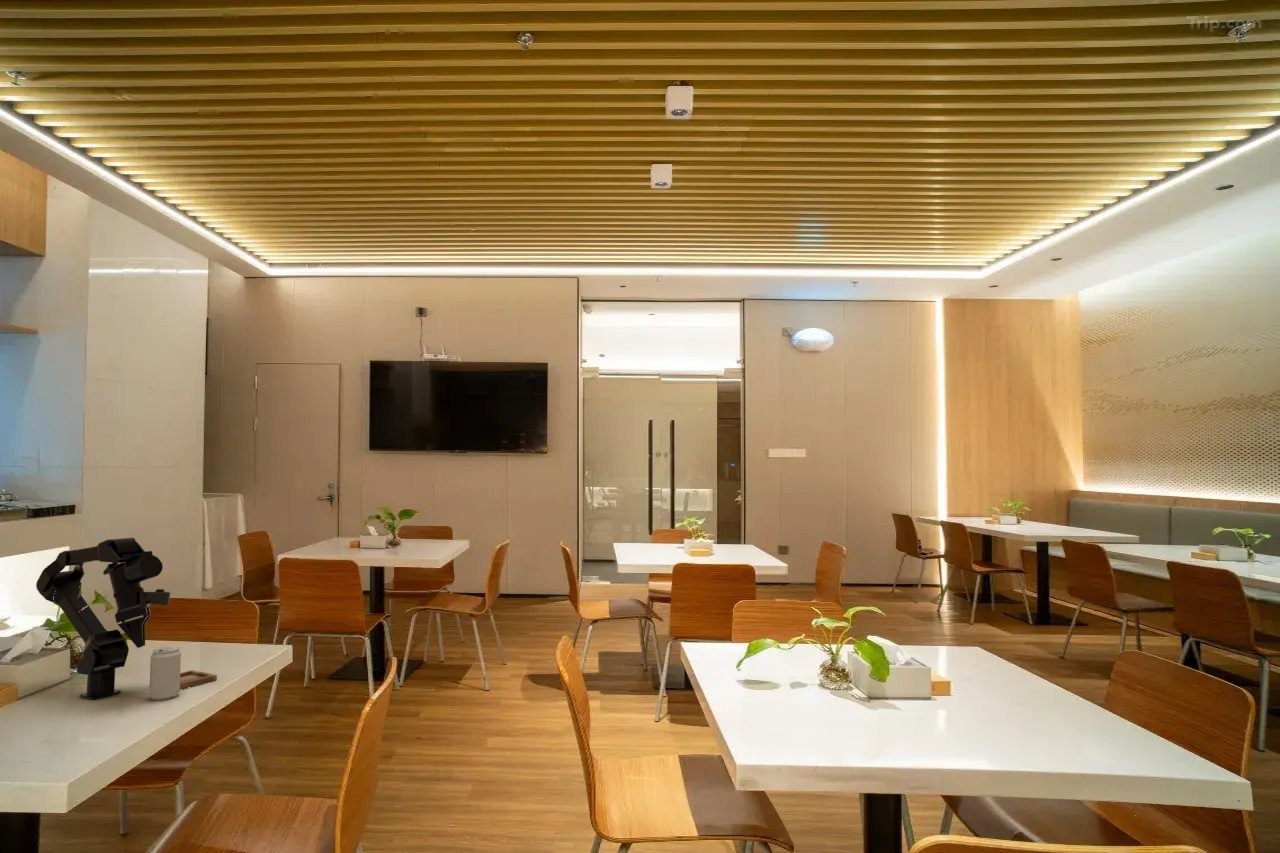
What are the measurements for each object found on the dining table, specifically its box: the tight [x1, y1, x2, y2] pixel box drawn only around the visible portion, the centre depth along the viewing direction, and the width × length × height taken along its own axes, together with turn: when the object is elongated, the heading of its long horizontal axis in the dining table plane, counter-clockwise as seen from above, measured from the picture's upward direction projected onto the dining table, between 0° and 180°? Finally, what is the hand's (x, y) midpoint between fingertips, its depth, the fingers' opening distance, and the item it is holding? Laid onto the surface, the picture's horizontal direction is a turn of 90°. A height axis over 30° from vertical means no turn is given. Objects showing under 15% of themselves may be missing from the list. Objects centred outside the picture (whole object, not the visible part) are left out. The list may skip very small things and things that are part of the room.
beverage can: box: [148, 646, 182, 701], centre depth 180 cm, size 6×6×12 cm
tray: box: [180, 669, 218, 690], centre depth 192 cm, size 11×11×2 cm
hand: (141, 646), depth 180 cm, fingers open, 9 cm apart
